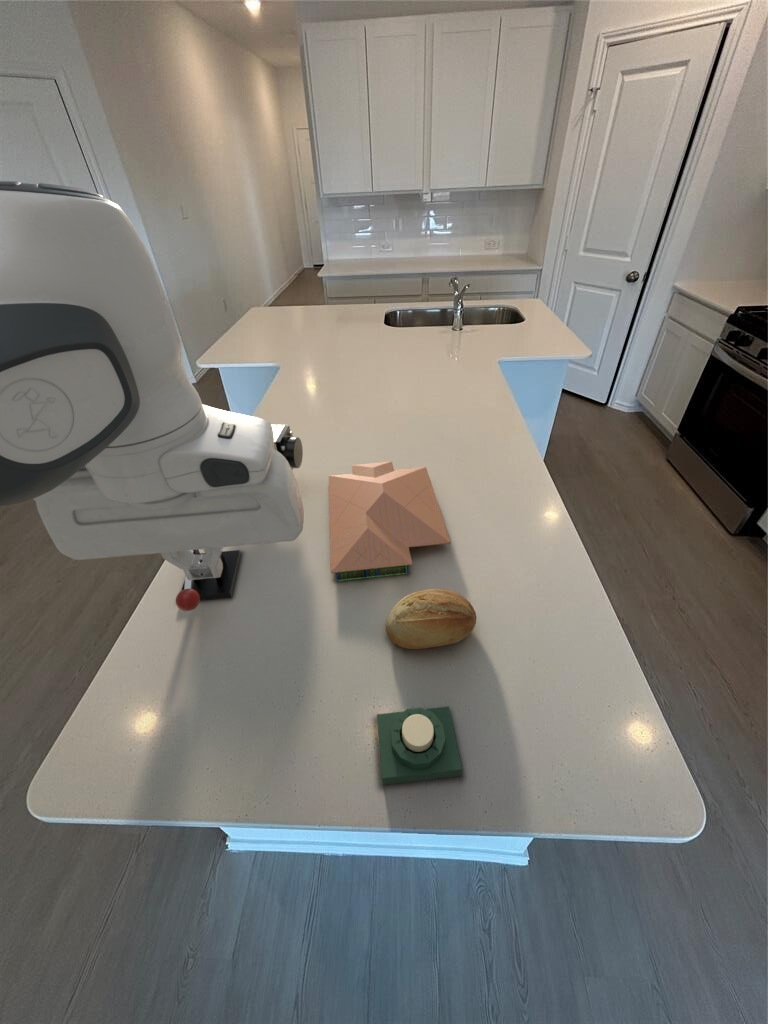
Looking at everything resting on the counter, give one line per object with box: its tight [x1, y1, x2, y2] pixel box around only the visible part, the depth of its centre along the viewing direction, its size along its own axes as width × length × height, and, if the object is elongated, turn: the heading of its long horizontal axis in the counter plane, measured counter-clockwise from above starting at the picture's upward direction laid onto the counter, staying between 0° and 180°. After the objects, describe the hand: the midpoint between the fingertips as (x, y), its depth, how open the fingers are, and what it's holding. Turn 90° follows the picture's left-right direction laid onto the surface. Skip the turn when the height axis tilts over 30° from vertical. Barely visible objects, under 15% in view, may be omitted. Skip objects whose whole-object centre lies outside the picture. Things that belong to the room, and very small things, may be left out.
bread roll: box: [384, 588, 477, 650], centre depth 70 cm, size 10×15×8 cm, turn 100°
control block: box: [376, 706, 463, 786], centre depth 57 cm, size 10×8×4 cm
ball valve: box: [271, 424, 304, 471], centre depth 98 cm, size 18×8×18 cm, turn 84°
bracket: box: [180, 549, 242, 601], centre depth 79 cm, size 11×9×14 cm
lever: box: [175, 550, 201, 612], centre depth 73 cm, size 15×4×4 cm, turn 5°
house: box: [328, 460, 451, 582], centre depth 92 cm, size 23×33×8 cm
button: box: [402, 714, 434, 752], centre depth 56 cm, size 4×4×2 cm
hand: (206, 573), depth 42 cm, fingers closed
